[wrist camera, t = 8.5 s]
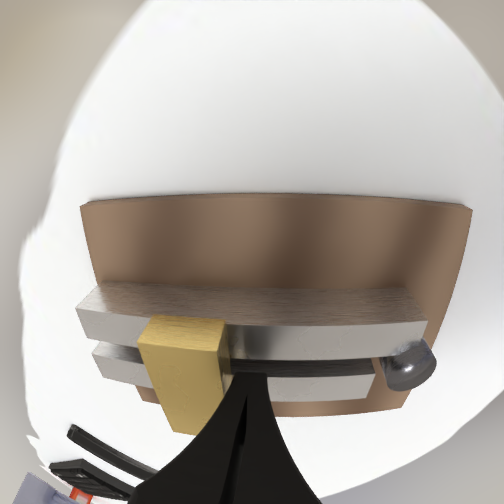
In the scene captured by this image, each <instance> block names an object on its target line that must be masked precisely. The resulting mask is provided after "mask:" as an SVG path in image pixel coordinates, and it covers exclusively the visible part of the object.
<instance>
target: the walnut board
mask: <svg viewBox="0 0 504 504" xmlns="http://www.w3.org/2000/svg"><path fill="white" fill-rule="evenodd" d="M80 211H81V217H82V222H83V227H84V232H85V237H86V241H87V245H88V250H89V254H90V258H91V262H92V266H93V270H94V273H95V277H96V281H97V284H99V283H100V282H101V281H102V280H107V281H120V282H135V283H151V284H169V285H190V286H214V287H245V288H301V289H351V288H405V287H406V288H407V289H408V291H409V292H410V294H411V295H412V297H413V298H414V300H415V301H416V303H417V304H418V306H419V307H420V309H421V310H422V312H423V313H424V315H425V316H426V318H427V319H428V323H427V326H426V328H425V331H424V334H423V336H424V338H425V340H426V342H427V344H428V345H429V347H430V349H432V346H433V344H434V342H435V339H436V337H437V334H438V332H439V329H440V327H441V324H442V322H443V319H444V316H445V314H446V311H447V308H448V305H449V302H450V299H451V296H452V293H453V290H454V287H455V284H456V280H457V277H458V274H459V270H460V266H461V263H462V259H463V255H464V251H465V246H466V242H467V237H468V233H469V228H470V223H471V217H472V211H473V210H472V209H470V208H468V207H466V206H464V205H460V204H452V203H443V202H433V201H423V200H412V199H400V198H386V197H371V196H353V195H330V194H292V193H234V194H196V195H172V196H154V197H139V198H125V199H113V200H102V201H91V202H88V203H86V204H84V205H82V206H80ZM371 360H372V364H373V367H374V370H375V373H376V374H375V377H374V379H373V382H372V384H371V387H370V389H369V392H368V394H367V397H366V398H361V399H349V400H334V401H307V402H279V401H271V405H272V409H273V412H274V415H275V417H313V416H334V415H348V414H359V413H368V412H376V411H384V410H391V409H397V408H401V407H402V406H403V404H404V402H405V400H406V399H407V397H408V395H409V393H410V391H411V390H412V389H410V390H407V391H401V392H398V391H393V390H391V389H389V387H388V386H387V383H386V380H385V377H384V373H383V370H382V367H381V365H380V362H379V359H378V357H372V358H371ZM135 386H136V388H137V390H138V392H139V394H140V396H141V398H142V400H143V401H146V402H151V403H156V404H160V402H159V400H158V397H157V395H156V392H155V390H154V389H153V388H148V387H143V386H138V385H135Z"/></svg>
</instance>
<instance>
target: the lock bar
mask: <svg viewBox="0 0 504 504" xmlns="http://www.w3.org/2000/svg"><path fill="white" fill-rule="evenodd" d="M136 343H137V345H138V348H139V351H140V354H141V357H142V359H143V362H144V365H145V368H146V370H147V373H148V375H149V378H150V380H151V383H152V385H153V388H154V390H155V392H156V395H157V397H158V400H159V402H160V404H161V406H162V409H163V411H164V413H165V415H166V417H167V420H168V422H169V424H170V426H171V428H172V430H173V432H178V433H183V434H189V435H195V436H197V435H198V433H199V432H200V431H201V430H202V429H203V427H204V426H205V425H206V423H207V422H208V421H209V419H210V418H211V416H212V415H213V414H214V412H215V411H216V409H217V407H218V406H219V404H220V402H221V401H222V399H223V397H224V396H225V394H226V392H227V390H228V388H229V386H230V384H231V382H232V375H231V366H230V357H229V347H228V338H227V328H226V319H209V318H194V317H181V316H169V315H158V314H153V316H152V318H151V319H150V321H149V322H148V324H147V326H146V327H145V329H144V331H143V332H142V334H141V335H140V337H139V339H138V340H137V342H136Z"/></svg>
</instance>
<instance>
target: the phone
mask: <svg viewBox="0 0 504 504" xmlns="http://www.w3.org/2000/svg"><path fill="white" fill-rule="evenodd" d="M67 437H68V438H69V439H70V440H72V441H73V442H74V443H76V444H78V445H79V446H81V447H82V448H84V449H85V450H87V451H89V452H90V453H92V454H94V455H95V456H97V457H99V458H101V459H102V460H104V461H106V462H108V463H110V464H111V465H113V466H115V467H117V468H119V469H121V470H123V471H125V472H127V473H129V474H131V475H133V476H135V477H137V478H139V479H142V480H147V479H148V478H150V477H151V476H153V475H154V474H155V473H157V472H158V471H157V470H155V469H153V468H151V467H149V466H146V465H144V464H142V463H140V462H138V461H136V460H134V459H132V458H130V457H128V456H127V455H125V454H123V453H121V452H119V451H117V450H115V449H114V448H112V447H110V446H108V445H107V444H105V443H103V442H102V441H100V440H98V439H97V438H95V437H94V436H92V435H90V434H89V433H87V432H86V431H84V430H83V429H81V428H80V427H78V426H76V425H74V424H73V425H72V426H71V428H70V430H69V432H68V434H67Z"/></svg>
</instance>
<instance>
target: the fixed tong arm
mask: <svg viewBox="0 0 504 504" xmlns="http://www.w3.org/2000/svg"><path fill="white" fill-rule="evenodd" d="M75 309H76V311H77V314H78V317H79V319H80V322H81V324H82V327H83V329H84V332H85V334H86V336H87V338H89V339H94V340H99V341H104V342H109V343H114V344H120V345H125V346H131V347H137V348H138V345H137V343H136V342H137V340H138V339H139V337H140V335H141V334H142V332H143V331H144V329H145V327H146V326H147V324H148V322H149V321H150V319H151V318H152V316H153V314H158V315H169V316H181V317H194V318H209V319H226V328H227V338H228V347H229V357H230V358H239V359H260V360H336V359H357V358H372V357H378V359H379V362H380V365H381V367H382V370H383V373H384V377H385V380H386V383H387V386H388V387H389V389H391V390H393V391H398V392H401V391H407V390H410V389H413V388H415V387H417V386H419V385H421V384H422V383H424V382H425V381H426V380H427V379H428V378H429V377H430V376H431V375H432V373H433V372H434V370H435V368H436V359H435V357H434V355H433V353H432V351H431V349H430V347H429V345H428V344H427V342H426V340H425V338H424V336H423V334H424V331H425V328H426V326H427V323H428V319H427V318H426V316H425V315H424V313H423V312H422V310H421V309H420V307H419V306H418V304H417V303H416V301H415V300H414V298H413V297H412V295H411V294H410V292H409V291H408V289H407V288H406V287H405V288H351V289H301V288H245V287H214V286H190V285H169V284H151V283H135V282H120V281H107V280H102V281H101V282H100V283H99V284H98V285H97V286H96V287H95V288H94V289H93V290H92V291H91V292H90V293H89V294H88V295H87V296H86V297H85V298H84V299H83V300H82V301H81V302H80V303H79V304H78V305H77V306H76V308H75Z"/></svg>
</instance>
